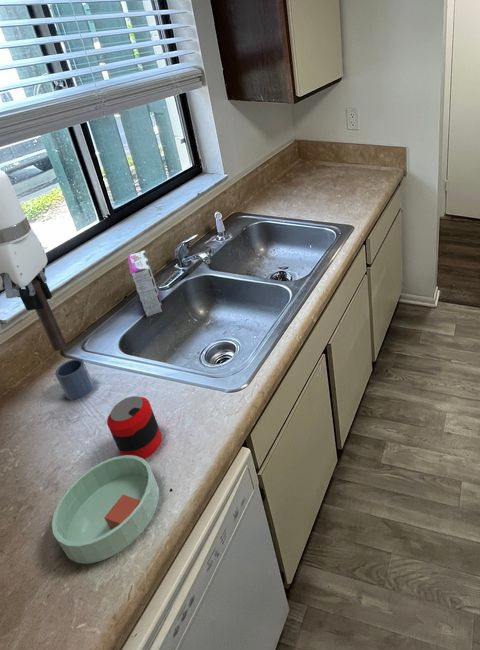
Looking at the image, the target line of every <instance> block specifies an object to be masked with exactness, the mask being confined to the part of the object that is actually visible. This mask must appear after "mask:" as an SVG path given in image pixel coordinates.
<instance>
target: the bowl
mask: <svg viewBox="0 0 480 650" xmlns="http://www.w3.org/2000/svg"><path fill="white" fill-rule="evenodd" d="M122 495H126V496H129V497H132V498H135V499H137V500H140V503H139V504H138V506H137V507H136V508H135V509H134V511H133V512H132V513H131V514H130V515H129V516H128V517H127V518H126V519H125V520H124V521H123V522H122V523H121V524H120V525H118V526H117V527H115V528H114V529H112V530H110V528H109V526H108V524H107V522H106V520H105V518H104V517H105V516H106V515H107V514H108V512H109V511H110V510H111V509H112V507H113V506H114V505H115V504H116V502H117V501H118V500H119V499H120V497H121V496H122ZM159 500H160V488H159V485H158V483H157V480H156V477H155V475H154V472H153V471H152V468H151V465H150V464H149V462H148V461H147V460H146V459H145V460H144V459H143V458H140V457H138V456H135V455H123V456H121V455H118V456H114V457H111V458H109V459H106V460H103V461H101V462H99V463H98V464H95V465H94V466H92V467H90V468H89V469H88V470H87V471H85V472H84V473H83V474H81V475H80V476H78V478H77V479H76V480H75V481H74V482H73V483H72V484H70V486H69V487H68V488H67V489H66V491H65V493H63V495H62V496H61V498H60V499H59V501H58V503H57V504H56V507H55V509H54V512H53V516H52V520H51V530H52V535H53V537H54V538H55V539H56V541H57V542H58V544H59V546H60V547H61V549H62V551H63V552H64V553H65V555H66V557H67V558H68V559H69V560H70V561H73V562H74V563H77V564H83V565H84V564H87V565H88V564H95V563H99V562H102V561H105V560H107V559H110V558H111V557H114V556H115V555H117V554H118V553H121V552H122V551H123V550H125V549H126V548H127V547H128V546H129V545H131V544H132V543H133V542H134V541H135V540H136V539H137V538H138V537H139V536H140V535H141V534H142V533H143V532H144V531H145V529H146V528H147V526H148V525H149V524H150V523H151V521H152V518H153V517H154V514H155V512H156V510H157V507H158V503H159Z"/></svg>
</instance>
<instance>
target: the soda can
mask: <svg viewBox="0 0 480 650" xmlns="http://www.w3.org/2000/svg"><path fill="white" fill-rule="evenodd" d="M106 425H107V427H108V429H109V432H110V434H111V436H112V438H113V441H114V443H115V445H116V447H117V450H118V451H119V454H120V456H123V455H135V456H138V457H140V458H143V459H144V460H145V461H146V459H148V458H150V457H151V456H152V455H153V454H154V453H155V452H156V451H157V450H158V449H159V447H160V446H161V444H162V441H163V435H162V432H161V430H160V427H159V425H158V422H157V419H156V416H155V413H154V410H153V408H152V406H151V403H150V401H149V399H148V398H146V397H144V396H138V395H137V396H136V395H134V396H133V395H132V396H129V397H125V398H124V399H122V400H120V401H119V402H117V403H116V404H115V405H114V406H113V407H112V410H111V411H110V413H109V415H108V416H107V419H106Z"/></svg>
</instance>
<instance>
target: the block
mask: <svg viewBox="0 0 480 650" xmlns="http://www.w3.org/2000/svg"><path fill="white" fill-rule="evenodd" d="M139 503H140V500H137V499H135V498H132V497H129V496H126V495H122V496H121V497H120V499H119V500H118V501H117V502H116V504H115V505H114V506H113V507H112V509H111V510H110V511H109V512H108V514H107V515H106V516H105V517H104V518H105V520H106V522H107V524H108V526H109V528H110V530H112V529H114V528H115V527H117V526H118V525H120V524H121V523H122V522H123V521H124V520H125V519H126V518H127V517H128V516H129V515H130V514H131V513H132V512H133V511H134V509H135V508H136V507H137V506H138V504H139Z"/></svg>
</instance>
